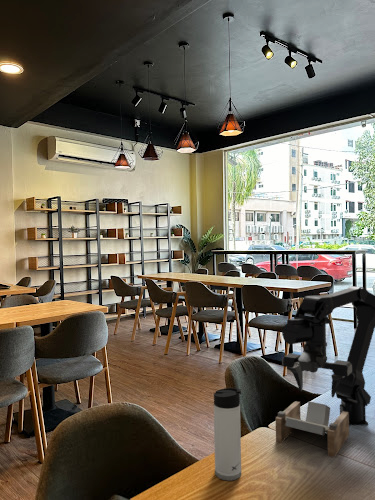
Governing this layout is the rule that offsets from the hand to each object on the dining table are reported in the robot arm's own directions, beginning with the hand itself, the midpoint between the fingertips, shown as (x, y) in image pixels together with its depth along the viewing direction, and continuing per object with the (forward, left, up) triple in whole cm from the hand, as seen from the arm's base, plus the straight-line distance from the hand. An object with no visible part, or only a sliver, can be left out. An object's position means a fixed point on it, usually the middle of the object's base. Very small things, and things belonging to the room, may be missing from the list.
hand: (316, 393), depth 116 cm
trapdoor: (+3, +4, -9) cm, 11 cm away
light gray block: (0, 0, -9) cm, 9 cm away
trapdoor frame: (+2, +3, -11) cm, 12 cm away
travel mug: (+28, +20, -12) cm, 36 cm away
